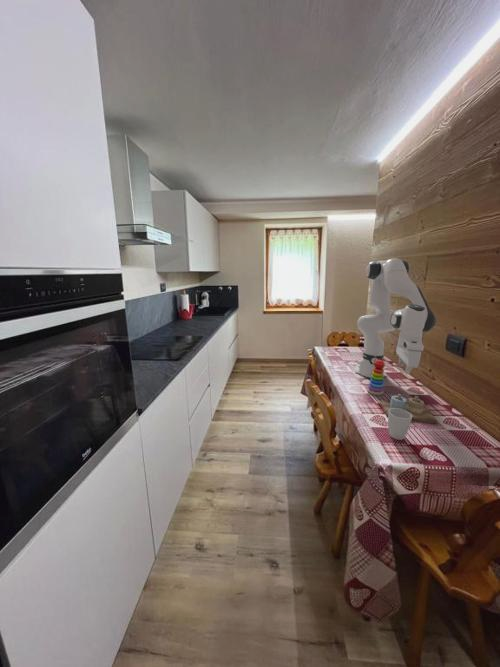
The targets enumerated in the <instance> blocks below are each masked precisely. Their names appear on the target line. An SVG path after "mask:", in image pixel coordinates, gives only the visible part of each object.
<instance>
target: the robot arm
mask: <svg viewBox="0 0 500 667" xmlns="http://www.w3.org/2000/svg"><path fill="white" fill-rule="evenodd" d="M409 270H410V265H409V263H408V262H407V261H406V260H402V259H400V258H397V257H396V258H395V257H394V258H390V259H387V260H373V261H371V262H369V263H368V264H367V266H366V268H365V274H366V277H367V278H368V279H370V280H372V282H371V286H370V293H369V294H370V295H369V305H370V306H371V307H372V308H373V309H374V310H375V314H365V315H362V316H359V317H358V320H357V322H356V326H357V328H358V330H359V331H360V332H361V333H362V335H363V337H364V350H363V353H362V357H361V358H360V360H357V364H356V366H355V370H354V373H355V374H358V375H361V376H362V377H366V378H369V379H371V375H372V372H373V369H374V368H376V367H375V366H374V362H375V361H376V360H382V361H383V362H384V351H385V341H384V340H383V339H381V338H380V337H379V336H380V335H379V333H389V332H392V331H394V332H395V330H400V331H399V333H398V334H399V335H398V340H397V346H396V351H395V352H396V355H397V356H398V366H399V367H401V368H402V367H404V365H406V366H405V369H404V373H405V374H406V375H411V371H412V370H413V368H414V369H417V368H418V367H419V364H420V361H421V356H422V352H423V351H424V349H425V345H424V344H423V340H422V339H423V333H426V332H427V333H428V332H429V331H431V330H432V329H433V328H434V327H435V326H436V324H437V318H436V316H435V314H434V313H433V311H432V310H431V309H430V307H429V304H428V303H427V301H426V299H425V296H424V295H423V292H422V291H421V288H420V287H419V286H418V285H417V284H416V283H415V282H413V281H412V279H411V278H410V277H409ZM391 294H394V295H396V296H401V297H404V298H406V299H408V300H409V301H410V302H411V303H412V304H407V305H406V306H405V308H402V309H401V308H400V309H396V310H394V311H392V309H391ZM384 364H385V365H384V367H383V368H382V369H383V370H384V371H383V378H384V377H387V373H386V372H385V370H386V369H385V367H386V363H385V362H384Z"/></svg>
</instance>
